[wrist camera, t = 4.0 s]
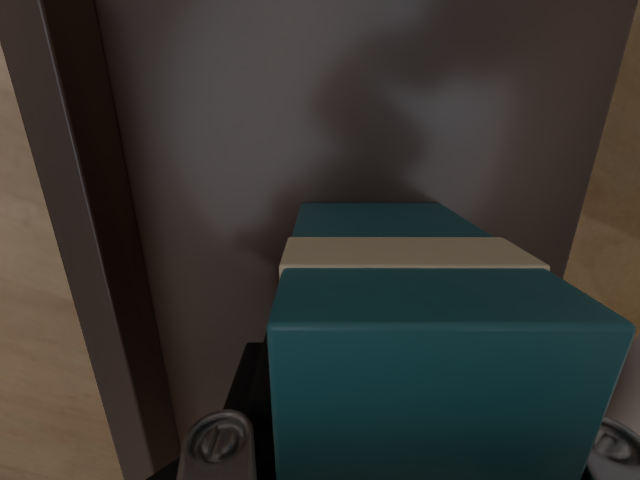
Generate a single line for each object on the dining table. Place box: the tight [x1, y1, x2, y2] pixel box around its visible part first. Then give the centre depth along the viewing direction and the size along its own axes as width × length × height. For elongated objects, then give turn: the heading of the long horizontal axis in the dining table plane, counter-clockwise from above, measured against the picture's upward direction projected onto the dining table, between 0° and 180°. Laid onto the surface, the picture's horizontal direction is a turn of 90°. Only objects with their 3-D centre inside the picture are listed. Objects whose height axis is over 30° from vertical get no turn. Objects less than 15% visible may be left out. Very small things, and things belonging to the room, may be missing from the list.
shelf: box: [0, 0, 638, 480], centre depth 16 cm, size 16×20×12 cm
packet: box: [266, 203, 636, 480], centre depth 9 cm, size 5×8×7 cm, turn 0°
